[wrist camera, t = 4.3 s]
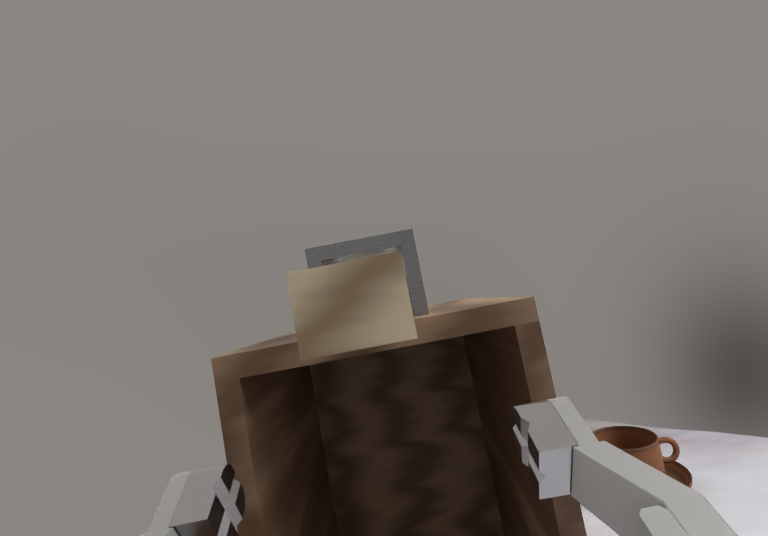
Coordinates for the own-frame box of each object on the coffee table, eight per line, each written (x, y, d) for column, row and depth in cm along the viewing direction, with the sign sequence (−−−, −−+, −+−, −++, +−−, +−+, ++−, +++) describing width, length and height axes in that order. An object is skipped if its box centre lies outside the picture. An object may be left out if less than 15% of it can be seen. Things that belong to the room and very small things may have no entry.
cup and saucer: (629, 458, 56) (618, 413, 56) (722, 492, 44) (708, 436, 45) (558, 485, 52) (548, 437, 53) (640, 531, 41) (626, 469, 41)
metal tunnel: (418, 310, 37) (406, 247, 38) (429, 314, 27) (412, 228, 28) (338, 325, 37) (326, 262, 38) (319, 335, 27) (304, 249, 28)
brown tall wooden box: (516, 535, 43) (467, 298, 45) (635, 756, 22) (533, 296, 24) (334, 570, 43) (293, 331, 45) (282, 825, 22) (211, 358, 24)
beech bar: (398, 312, 41) (392, 284, 42) (417, 338, 13) (400, 251, 14) (360, 319, 41) (355, 291, 42) (300, 360, 13) (285, 272, 14)
